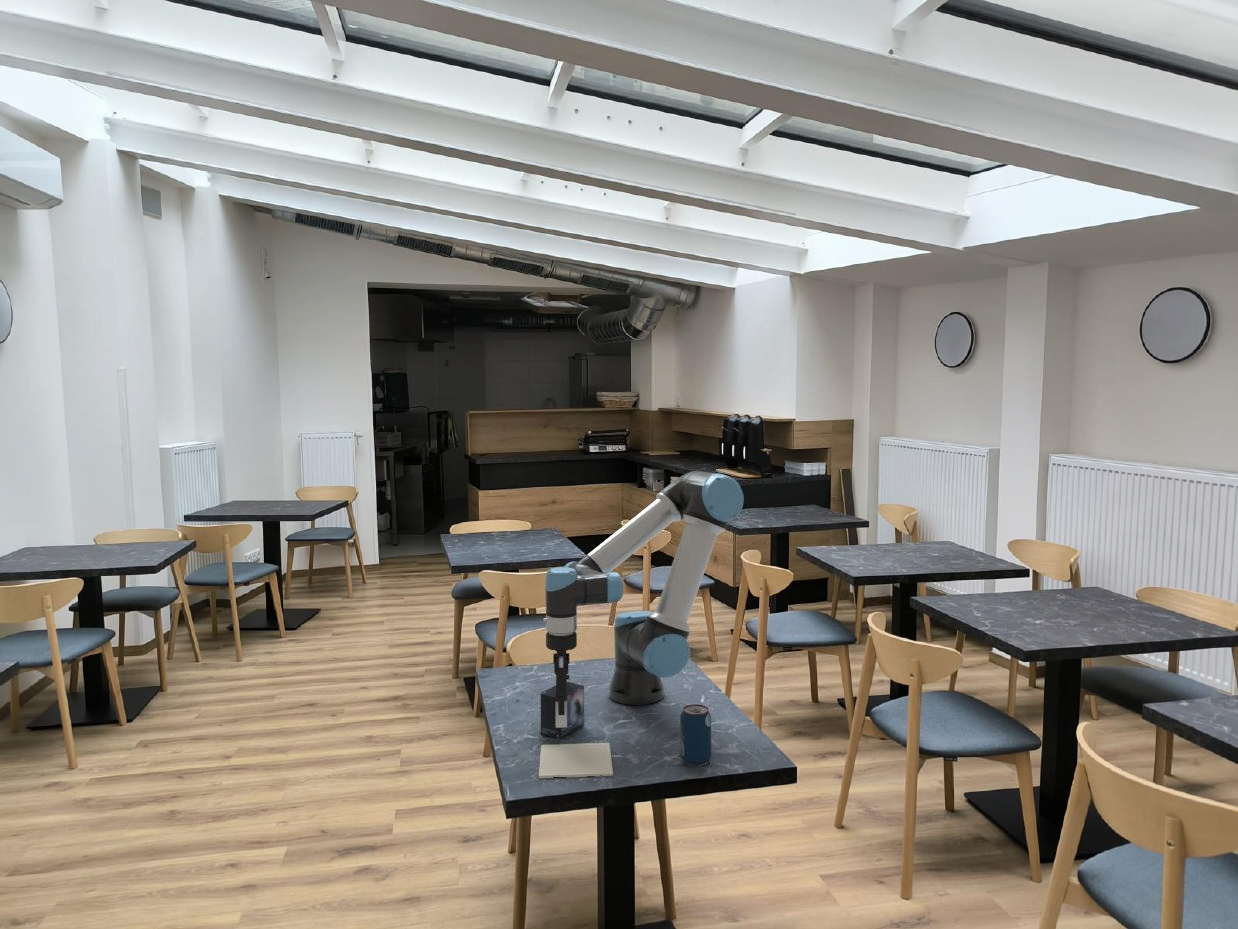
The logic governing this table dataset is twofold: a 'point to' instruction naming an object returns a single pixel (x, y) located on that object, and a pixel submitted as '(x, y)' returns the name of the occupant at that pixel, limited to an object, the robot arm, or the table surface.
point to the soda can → (695, 734)
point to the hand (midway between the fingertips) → (561, 716)
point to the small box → (573, 711)
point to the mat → (575, 760)
